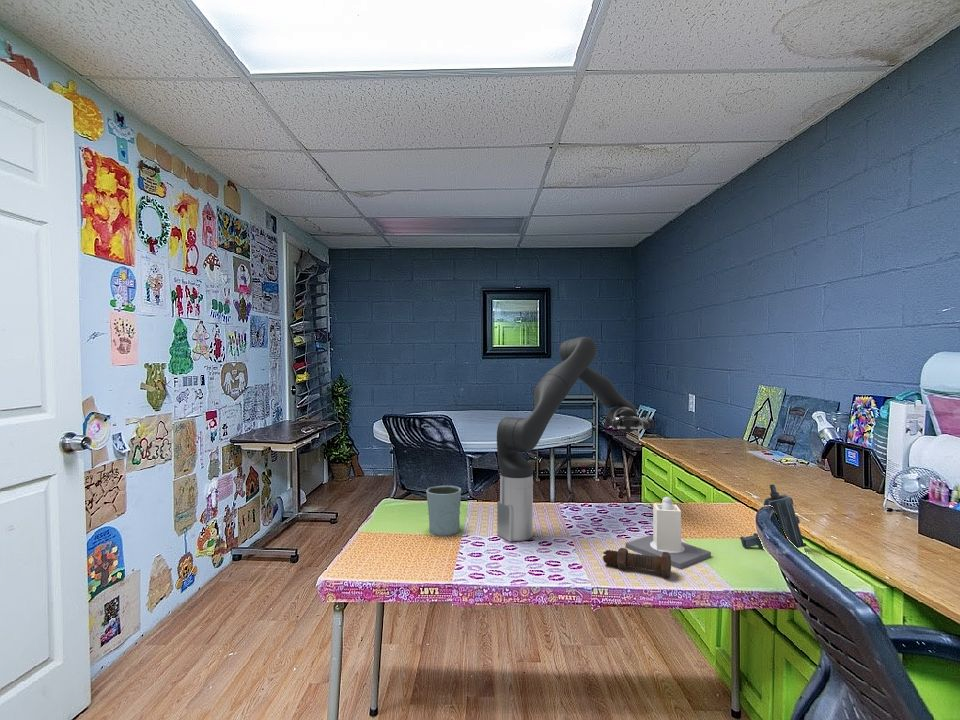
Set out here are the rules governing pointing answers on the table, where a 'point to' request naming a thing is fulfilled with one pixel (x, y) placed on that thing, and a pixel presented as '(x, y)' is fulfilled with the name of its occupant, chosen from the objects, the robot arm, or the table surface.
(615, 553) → the bolt
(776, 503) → the gun
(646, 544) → the post stand
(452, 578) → the table surface
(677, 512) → the collar
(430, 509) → the drinking glass
